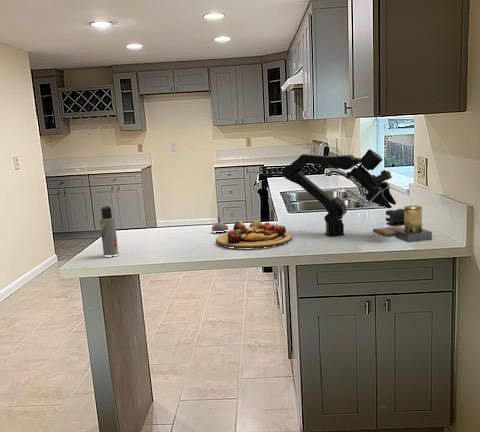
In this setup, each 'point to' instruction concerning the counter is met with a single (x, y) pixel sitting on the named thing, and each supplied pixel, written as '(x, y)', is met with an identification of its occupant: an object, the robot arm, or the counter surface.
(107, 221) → the lotion bottle
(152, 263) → the counter surface
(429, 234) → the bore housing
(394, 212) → the end cap
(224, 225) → the garlic bulb
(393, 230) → the walnut board
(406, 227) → the end plug
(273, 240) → the wooden plate with food
